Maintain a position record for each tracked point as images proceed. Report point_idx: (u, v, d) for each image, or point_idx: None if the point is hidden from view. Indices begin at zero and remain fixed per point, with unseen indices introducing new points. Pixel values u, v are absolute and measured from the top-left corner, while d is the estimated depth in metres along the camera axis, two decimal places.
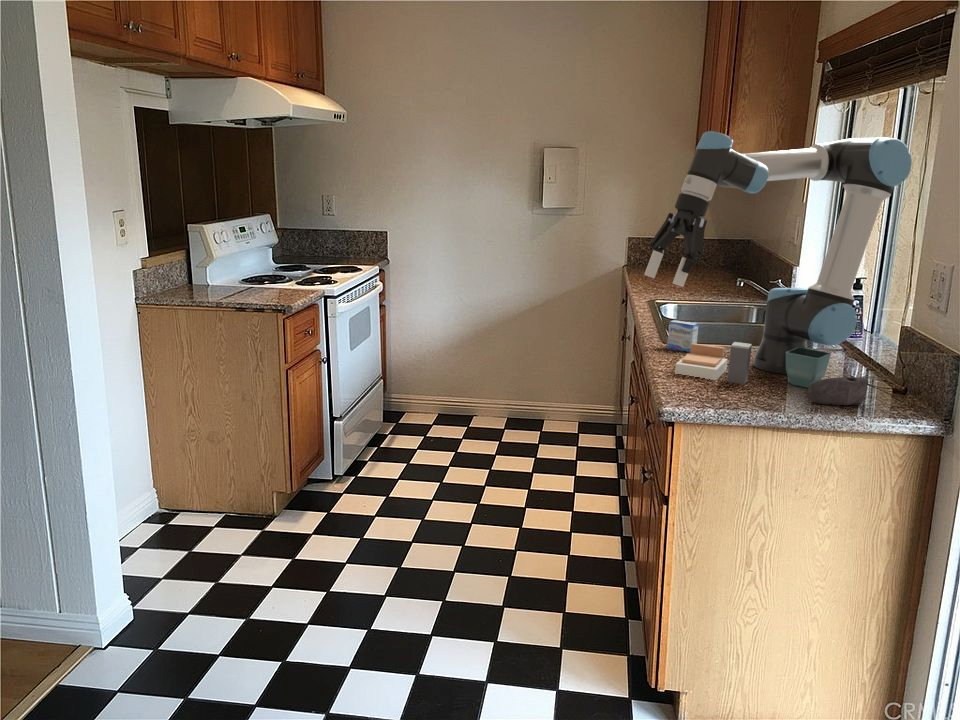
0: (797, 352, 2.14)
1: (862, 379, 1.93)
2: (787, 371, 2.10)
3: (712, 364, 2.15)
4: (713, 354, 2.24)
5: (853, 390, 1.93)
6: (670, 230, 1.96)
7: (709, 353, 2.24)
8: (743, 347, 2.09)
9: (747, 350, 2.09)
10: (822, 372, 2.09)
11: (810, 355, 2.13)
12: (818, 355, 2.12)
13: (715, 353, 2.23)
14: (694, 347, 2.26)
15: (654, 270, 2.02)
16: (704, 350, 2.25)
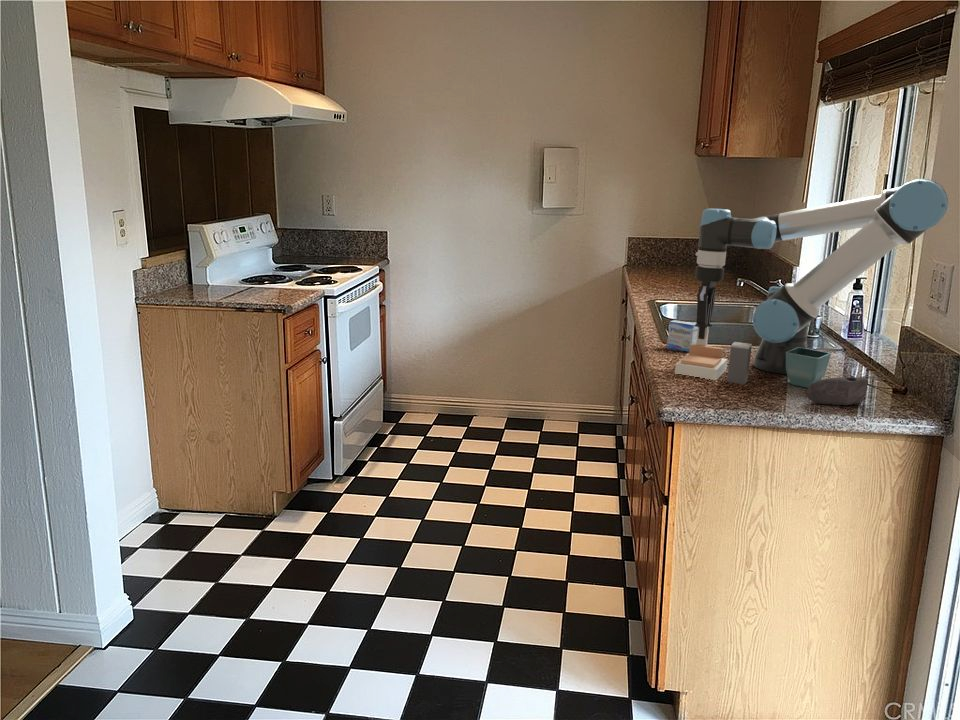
0: (797, 352, 2.14)
1: (862, 379, 1.93)
2: (787, 371, 2.10)
3: (711, 365, 2.14)
4: (712, 355, 2.23)
5: (853, 390, 1.93)
6: None
7: (708, 354, 2.23)
8: (743, 347, 2.09)
9: (747, 350, 2.09)
10: (822, 372, 2.09)
11: (810, 355, 2.13)
12: (818, 355, 2.12)
13: (714, 354, 2.22)
14: (693, 348, 2.25)
15: None
16: (703, 351, 2.24)
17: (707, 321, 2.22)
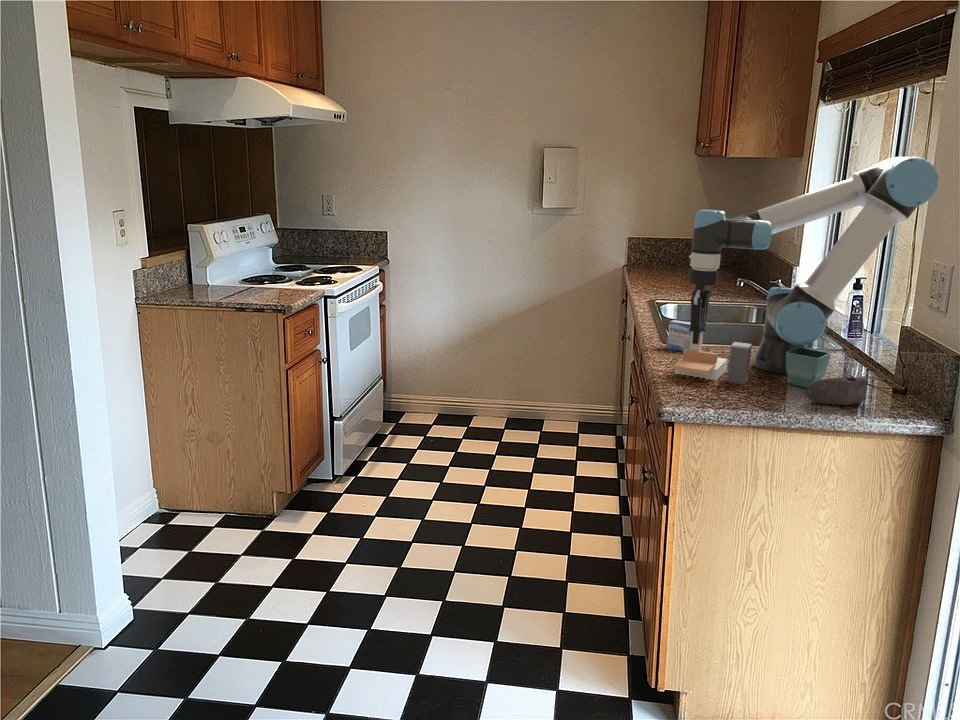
0: (797, 352, 2.14)
1: (862, 379, 1.93)
2: (787, 371, 2.10)
3: (705, 371, 2.08)
4: (706, 360, 2.16)
5: (852, 391, 1.93)
6: None
7: (702, 359, 2.17)
8: (743, 347, 2.09)
9: (747, 350, 2.09)
10: (822, 372, 2.09)
11: (810, 355, 2.13)
12: (818, 355, 2.12)
13: (708, 359, 2.16)
14: (686, 353, 2.18)
15: None
16: (697, 356, 2.17)
17: (701, 326, 2.16)
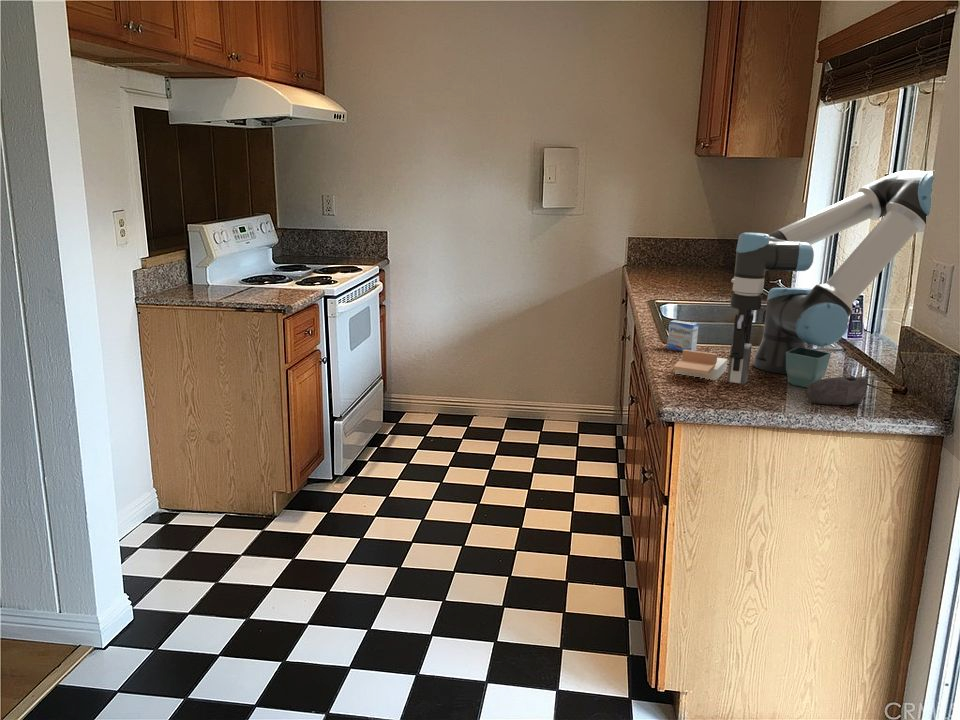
0: (797, 352, 2.14)
1: (861, 379, 1.93)
2: (787, 371, 2.10)
3: (704, 371, 2.07)
4: (706, 361, 2.16)
5: (852, 390, 1.93)
6: None
7: (701, 360, 2.16)
8: None
9: (747, 350, 2.09)
10: (822, 372, 2.09)
11: (810, 355, 2.13)
12: (818, 355, 2.12)
13: (708, 360, 2.15)
14: (686, 353, 2.18)
15: None
16: (696, 357, 2.17)
17: None
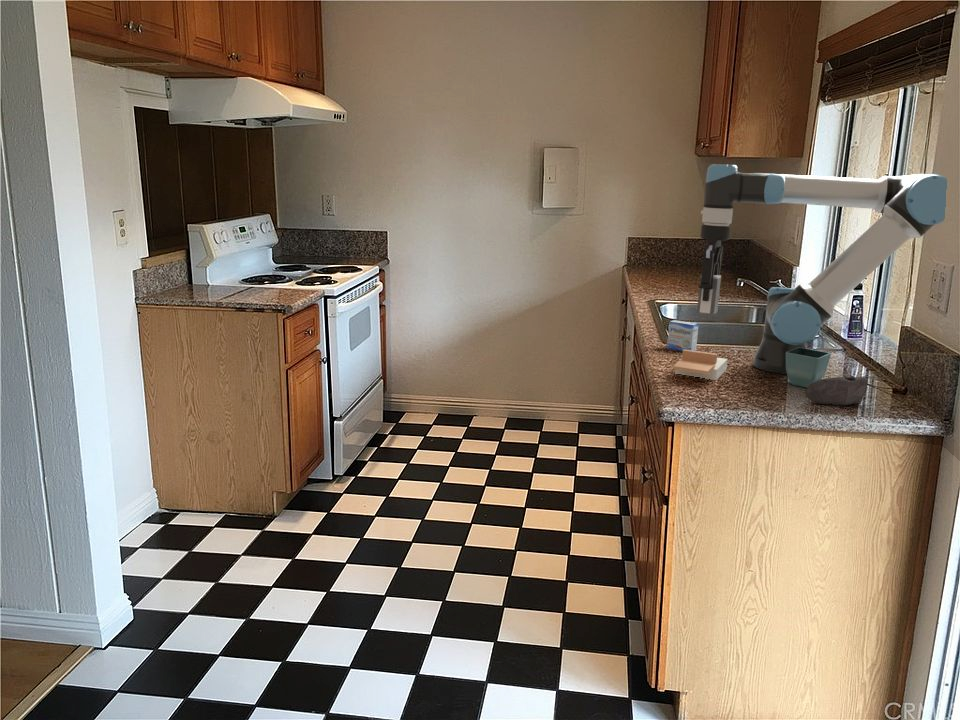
0: (797, 352, 2.14)
1: (861, 379, 1.93)
2: (787, 371, 2.10)
3: (704, 371, 2.07)
4: (706, 361, 2.16)
5: (852, 390, 1.93)
6: None
7: (701, 360, 2.16)
8: None
9: (716, 280, 2.13)
10: (822, 372, 2.09)
11: (810, 355, 2.13)
12: (818, 355, 2.12)
13: (708, 360, 2.15)
14: (686, 353, 2.18)
15: None
16: (696, 357, 2.17)
17: (712, 282, 2.12)
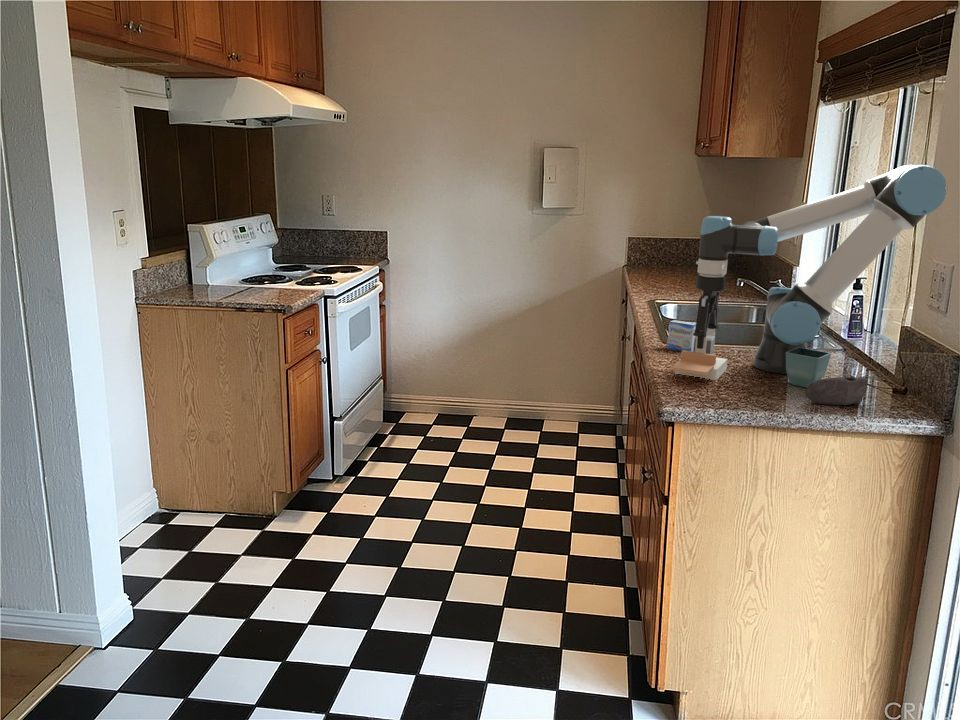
0: (797, 352, 2.14)
1: (861, 379, 1.93)
2: (787, 371, 2.10)
3: (703, 372, 2.06)
4: (704, 362, 2.15)
5: (852, 390, 1.93)
6: None
7: (700, 361, 2.15)
8: None
9: (710, 342, 2.17)
10: (822, 372, 2.09)
11: (810, 355, 2.13)
12: (818, 355, 2.12)
13: (706, 361, 2.14)
14: (685, 354, 2.17)
15: None
16: (695, 358, 2.16)
17: (706, 330, 2.14)
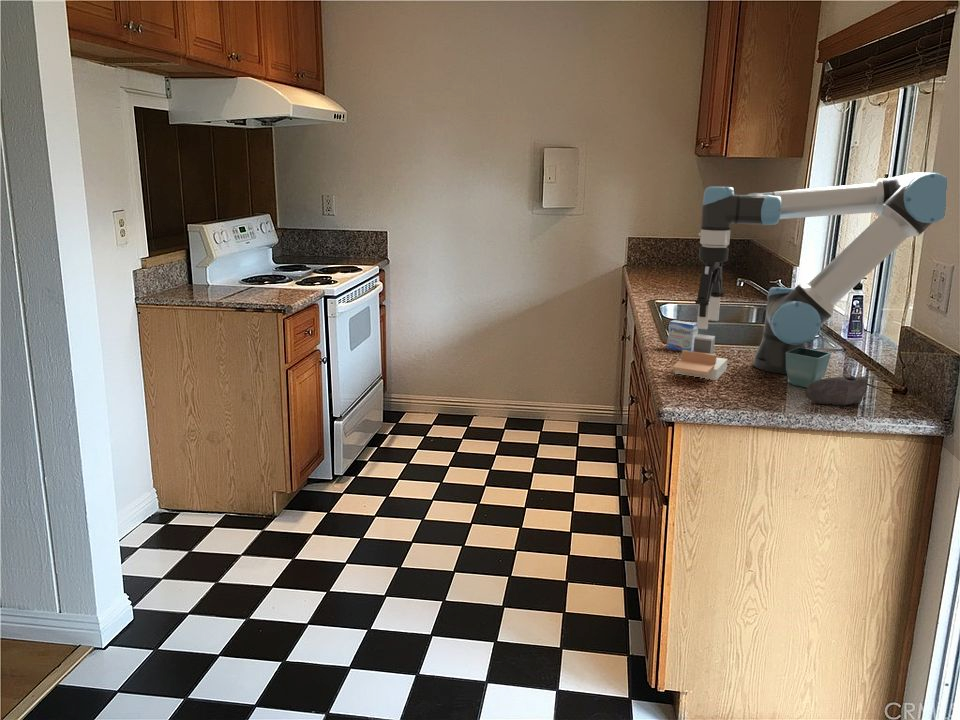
0: (797, 352, 2.14)
1: (861, 379, 1.93)
2: (787, 371, 2.10)
3: (704, 372, 2.07)
4: (705, 361, 2.15)
5: (852, 390, 1.93)
6: None
7: (701, 360, 2.16)
8: (706, 339, 2.17)
9: (710, 342, 2.17)
10: (822, 372, 2.09)
11: (810, 355, 2.13)
12: (818, 355, 2.12)
13: (707, 360, 2.15)
14: (685, 354, 2.17)
15: (715, 314, 2.23)
16: (696, 357, 2.16)
17: (709, 298, 2.10)
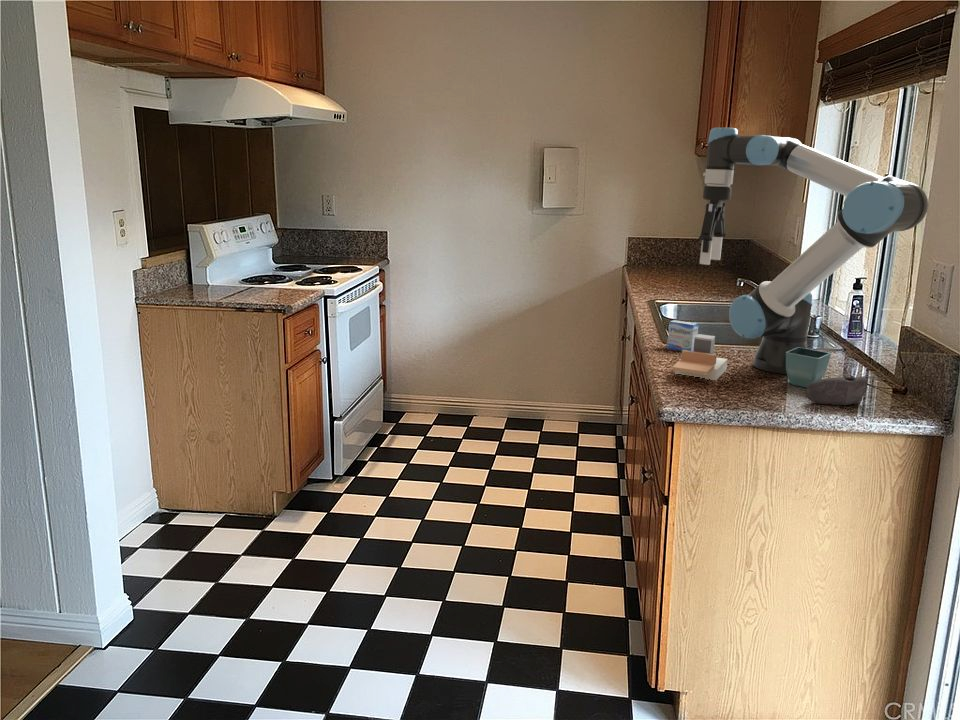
0: (797, 352, 2.14)
1: (860, 379, 1.93)
2: (787, 371, 2.10)
3: (704, 372, 2.07)
4: (705, 361, 2.15)
5: (851, 390, 1.93)
6: None
7: (701, 360, 2.16)
8: (706, 339, 2.17)
9: (710, 342, 2.17)
10: (822, 372, 2.09)
11: (810, 355, 2.13)
12: (818, 355, 2.12)
13: (707, 360, 2.15)
14: (685, 354, 2.17)
15: (717, 253, 2.33)
16: (696, 357, 2.16)
17: None
